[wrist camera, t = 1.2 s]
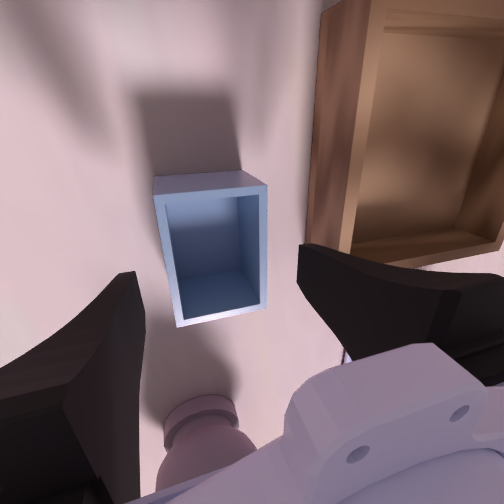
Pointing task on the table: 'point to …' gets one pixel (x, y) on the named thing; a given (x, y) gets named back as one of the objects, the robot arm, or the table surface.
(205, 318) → the blue crate
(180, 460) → the grey rounded bulbous piece
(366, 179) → the tray
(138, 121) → the table surface
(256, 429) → the table surface
